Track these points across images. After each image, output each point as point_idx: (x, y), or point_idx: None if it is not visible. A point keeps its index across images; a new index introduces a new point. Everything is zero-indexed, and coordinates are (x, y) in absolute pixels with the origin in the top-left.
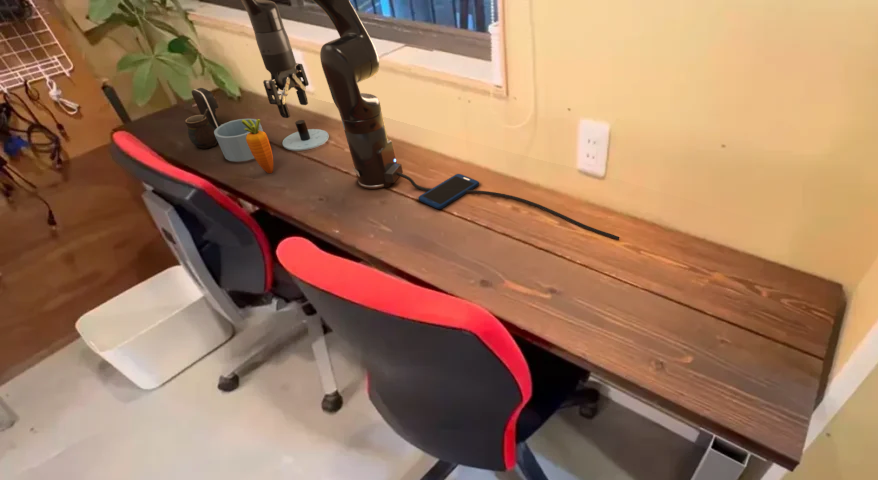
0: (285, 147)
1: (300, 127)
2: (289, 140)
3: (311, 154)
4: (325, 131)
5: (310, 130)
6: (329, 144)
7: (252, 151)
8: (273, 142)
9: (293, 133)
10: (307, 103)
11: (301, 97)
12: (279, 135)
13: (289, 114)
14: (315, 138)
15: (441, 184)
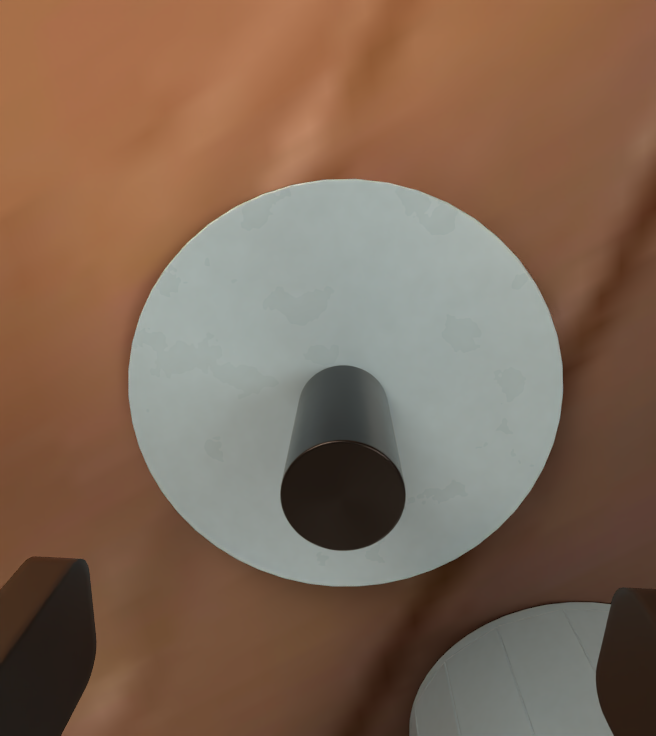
0: (519, 500)
1: (396, 455)
2: (394, 531)
3: (575, 221)
4: (155, 290)
5: (172, 449)
6: (351, 143)
7: None
8: (379, 648)
9: (261, 564)
10: (46, 560)
11: (17, 728)
12: (260, 664)
13: (652, 610)
14: (322, 313)
15: None
